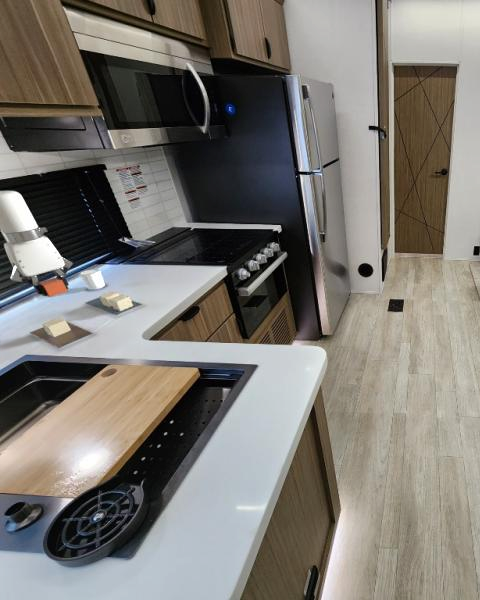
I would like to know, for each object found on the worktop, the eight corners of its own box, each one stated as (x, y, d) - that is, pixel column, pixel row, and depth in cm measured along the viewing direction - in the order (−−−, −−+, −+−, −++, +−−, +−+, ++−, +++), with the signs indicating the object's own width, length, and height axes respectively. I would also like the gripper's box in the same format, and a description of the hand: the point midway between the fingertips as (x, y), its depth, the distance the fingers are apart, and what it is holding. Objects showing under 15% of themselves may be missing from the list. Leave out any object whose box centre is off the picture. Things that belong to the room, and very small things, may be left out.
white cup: (105, 282, 146) (98, 267, 143) (107, 286, 142) (100, 271, 139) (85, 286, 142) (77, 272, 139) (87, 291, 138) (79, 276, 134)
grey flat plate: (143, 305, 127) (142, 304, 127) (117, 316, 120) (116, 315, 120) (110, 294, 135) (110, 293, 135) (84, 304, 128) (84, 302, 128)
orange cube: (50, 297, 102) (43, 285, 100) (43, 294, 104) (36, 282, 102) (68, 291, 105) (61, 280, 104) (61, 288, 107) (55, 277, 105)
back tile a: (120, 311, 122) (115, 301, 120) (113, 308, 124) (109, 299, 122) (133, 305, 126) (129, 296, 124) (126, 303, 127) (122, 294, 125)
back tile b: (109, 307, 125) (105, 298, 123) (103, 304, 126) (98, 295, 125) (122, 302, 128) (118, 293, 126) (116, 299, 130) (112, 290, 128)
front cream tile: (54, 337, 107) (47, 326, 105) (47, 334, 109) (41, 323, 107) (71, 330, 111) (65, 320, 109) (64, 327, 113) (58, 317, 111)
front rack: (93, 334, 110) (93, 333, 109) (60, 349, 102) (59, 347, 102) (63, 321, 117) (62, 319, 117) (29, 334, 110) (29, 332, 110)
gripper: (54, 227, 104) (81, 279, 113) (-24, 242, 91) (13, 300, 99) (66, 229, 101) (92, 283, 110) (-13, 246, 88) (24, 306, 96)
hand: (54, 291), depth 104 cm, fingers closed on orange cube, 4 cm apart
